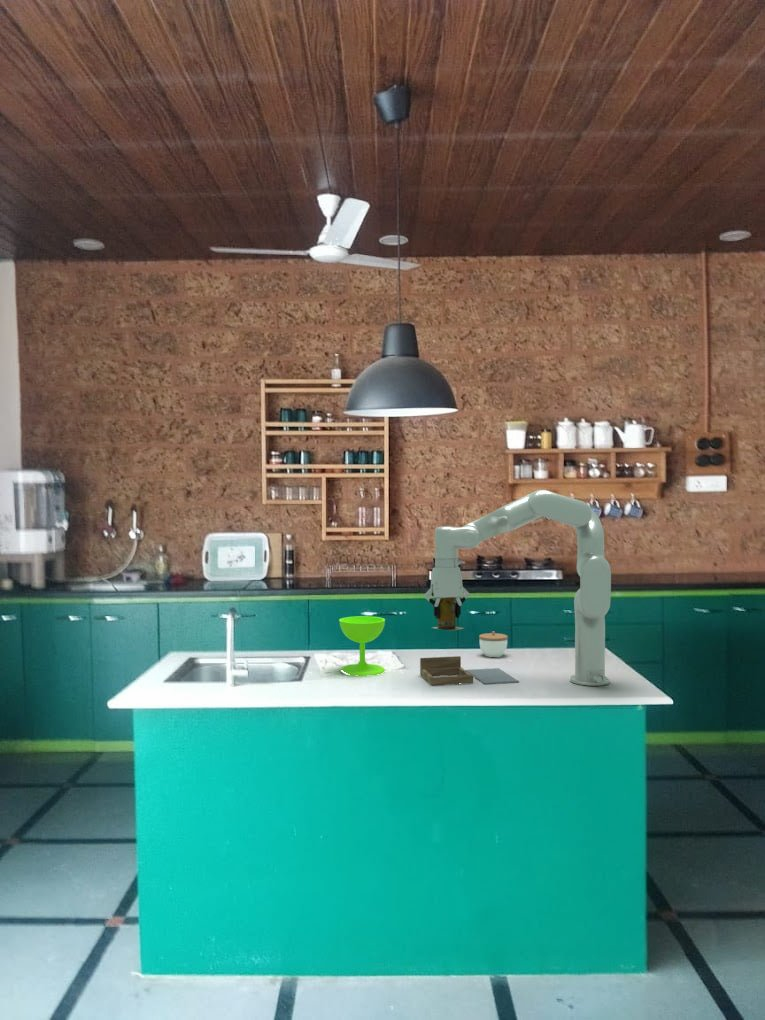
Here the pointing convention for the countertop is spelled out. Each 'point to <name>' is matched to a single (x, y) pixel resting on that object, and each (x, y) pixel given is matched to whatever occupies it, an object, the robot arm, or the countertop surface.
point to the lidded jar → (493, 644)
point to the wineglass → (362, 641)
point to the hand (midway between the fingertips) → (447, 617)
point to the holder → (444, 670)
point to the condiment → (447, 615)
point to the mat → (492, 676)
